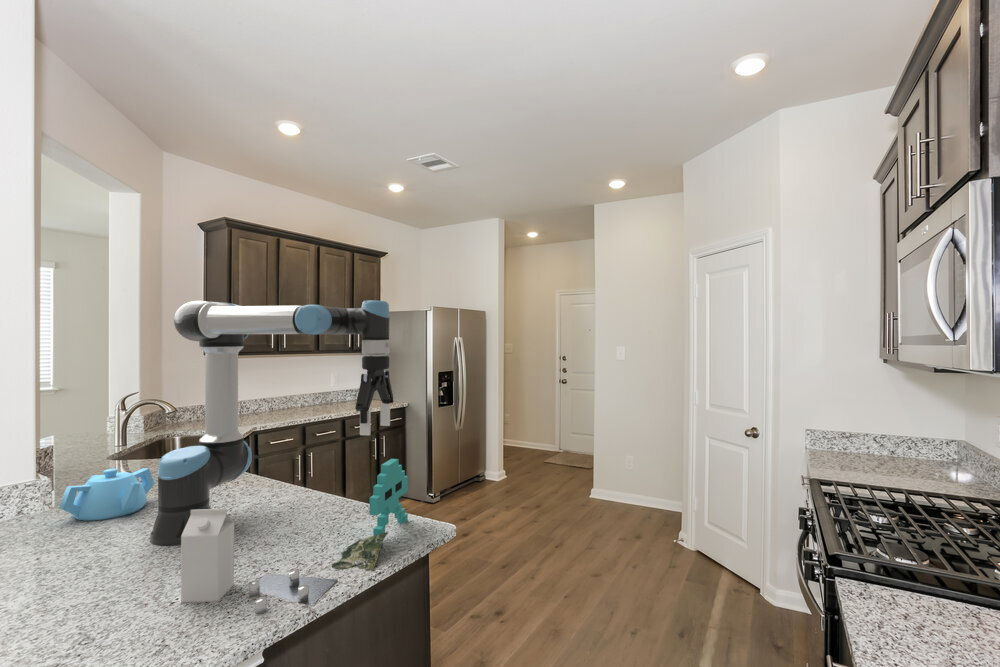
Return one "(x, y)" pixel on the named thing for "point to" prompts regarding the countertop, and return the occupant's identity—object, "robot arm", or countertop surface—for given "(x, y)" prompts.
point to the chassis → (289, 588)
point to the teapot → (108, 495)
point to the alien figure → (389, 495)
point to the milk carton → (207, 556)
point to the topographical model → (361, 554)
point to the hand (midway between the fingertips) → (375, 430)
